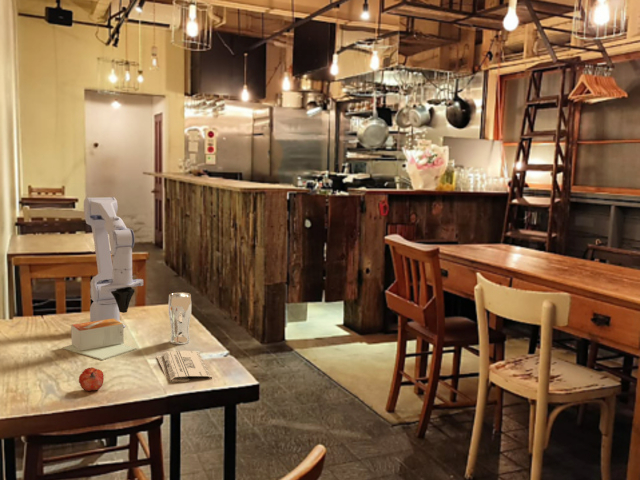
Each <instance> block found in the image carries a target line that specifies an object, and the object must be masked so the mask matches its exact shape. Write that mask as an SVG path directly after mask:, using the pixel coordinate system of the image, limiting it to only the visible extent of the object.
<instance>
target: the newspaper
mask: <svg viewBox="0 0 640 480" xmlns="http://www.w3.org/2000/svg"><path fill="white" fill-rule="evenodd" d="M156 358H157V361H158V362H159V364H160V366H161V369H162V371H163V373H164V377H165V378H167V379H168V380H169V381H170V383H177V382H188V381H189V382H190V380H191V379H189V377H205V378H206V377H208V379H209V378H210V379H213V377H212V375H211V373H210V371H209V369H208V367H207V365H206V363H205V360H204V358H203V357H202V355H201V353H200V352H199V351H197V350H170V351H164V352H162V355H157V356H156ZM210 379H209V380H210Z"/></svg>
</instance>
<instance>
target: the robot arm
mask: <svg viewBox="0 0 640 480" xmlns="http://www.w3.org/2000/svg"><path fill="white" fill-rule="evenodd" d="M118 205H119V204H118V200H117V199H116V198H115V196H111V197H108V196H107V197H106V196H105V197H89V196H88V197H85V199H84V200H83V214H84V220H85V223H86V224H87V225H88V226H90V228H91V231H92V235H93V242H94V250H95V251H94V252H95V259H96V265H97V268H96V269H97V274H96V275H94V277H92V279H91V280H90V283H89V284H90V298H91V301H93V302H92V303H91V305H90V307H89V320H90V321H89V322H93V321H100V320H106V319H113V318H114V319H115V320H117V321H119V322H120V323H121V321H120V319H121V318H120V313H123V314H125V313H128V310H129V305H130V302H131V299H132V298H133V296H134V293H135V288H134V287H142V286H144V279H142V278H137V279H133V248H134V246H135V239H136V238H135V232H134V230H133V228H128V227H127V226H126V224H125V222H124V221H123V219H122V218H121V217H119V216H118V215H117V213H118V209H119V207H118ZM125 327H126V325H125V324H123V328H125Z"/></svg>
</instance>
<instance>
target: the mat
mask: <svg viewBox="0 0 640 480" xmlns="http://www.w3.org/2000/svg"><path fill="white" fill-rule="evenodd" d="M62 349H63V350H66V351H70V352H73V353H76V354H80V355H83V356H87V357H90V358H93V359H96V360H100V361H104V360H105V361H106V360H108V359H111V358H114V357H117V356H121V355H123V354H126V353H130V352H132V351H135V350H137V347H133V346H130V345H127V344H124V343H122V344H116V345H110V346H105V347H100V348H94V349H89V350H83V351H80V350H78V349H77V348H76V347H75V346H74V345H72V344H70V345H66V346H62Z"/></svg>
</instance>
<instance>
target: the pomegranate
mask: <svg viewBox="0 0 640 480" xmlns="http://www.w3.org/2000/svg"><path fill="white" fill-rule="evenodd" d="M104 376H105V375H104V372H103V371H102V370H101V369H97V368H95V367H94V366H93V367H87V368H85V369H84V370H83V371H82V373H80V374H79V377H78V383H79V386H80V387H81V389H83V390H84V391H86V392H91V391H97V390H100V389H101V388H102V386H103V384H104Z"/></svg>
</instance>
